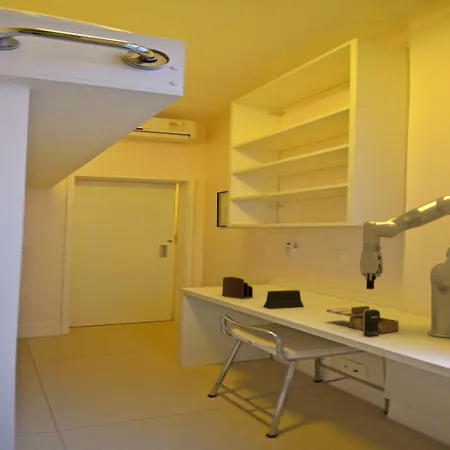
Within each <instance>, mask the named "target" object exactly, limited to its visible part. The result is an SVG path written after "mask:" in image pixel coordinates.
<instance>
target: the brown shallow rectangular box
mask: <svg viewBox="0 0 450 450" xmlns="http://www.w3.org/2000/svg"><path fill="white" fill-rule="evenodd" d="M399 322H400V321H399V320H397V319H391V318H386V317H380V322H378V333H379V335H388V334H393V333H394V334H395V333H399V324H400V323H399ZM349 328H350V329H353V330H357V331H362V332H363V316H359V317H349ZM379 335H378V336H379Z"/></svg>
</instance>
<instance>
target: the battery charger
mask: <svg viewBox="0 0 450 450" xmlns="http://www.w3.org/2000/svg"><path fill="white" fill-rule="evenodd" d="M380 318H381V311H379V310H378V309H376V308H373V309H372V308H371V309H370V308H369V309H367V310H364V312H363V331H362V335H363V337H369V338H370V337H378V336H379V333H378V322H380Z"/></svg>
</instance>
